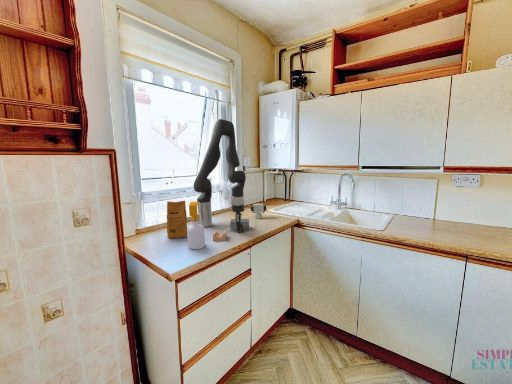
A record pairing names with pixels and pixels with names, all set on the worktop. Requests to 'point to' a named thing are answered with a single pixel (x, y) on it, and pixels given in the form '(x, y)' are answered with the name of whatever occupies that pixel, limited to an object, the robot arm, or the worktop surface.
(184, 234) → the coffee package
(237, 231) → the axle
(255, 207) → the pneumatic valve
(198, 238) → the soap bottle
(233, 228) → the grey rectangular block
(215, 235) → the v block
